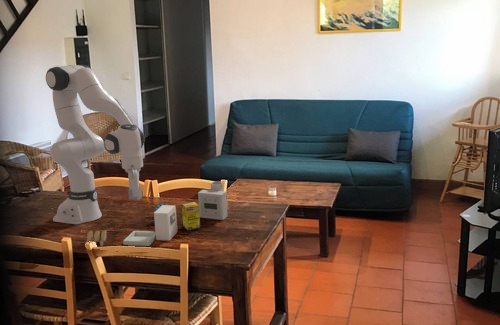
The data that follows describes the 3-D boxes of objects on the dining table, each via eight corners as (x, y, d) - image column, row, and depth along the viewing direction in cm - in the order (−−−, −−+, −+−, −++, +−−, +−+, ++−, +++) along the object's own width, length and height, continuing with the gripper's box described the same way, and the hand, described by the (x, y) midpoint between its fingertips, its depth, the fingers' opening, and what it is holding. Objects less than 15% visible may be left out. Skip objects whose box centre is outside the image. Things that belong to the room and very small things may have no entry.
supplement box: (188, 231, 228) (186, 207, 226) (183, 227, 234) (181, 203, 231) (200, 228, 231) (199, 205, 228) (195, 224, 236) (194, 201, 234)
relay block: (129, 199, 224) (128, 186, 222) (134, 196, 228) (132, 184, 226) (137, 200, 223) (136, 187, 221) (142, 197, 226) (141, 184, 225)
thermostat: (199, 217, 245) (197, 186, 241) (212, 207, 258) (211, 178, 254) (223, 220, 240) (221, 188, 237) (235, 210, 253) (234, 180, 249)
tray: (123, 245, 216) (123, 240, 215) (134, 235, 226) (133, 230, 226) (148, 246, 214) (148, 241, 213) (158, 236, 224) (158, 231, 224)
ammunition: (89, 229, 222) (84, 237, 214) (106, 229, 222) (102, 236, 214) (90, 240, 223) (85, 247, 215) (107, 239, 223) (103, 247, 216)
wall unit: (154, 239, 220) (152, 212, 217) (163, 231, 230) (161, 205, 227) (171, 240, 219) (169, 213, 216) (179, 231, 228) (177, 205, 225)
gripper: (139, 168, 212) (143, 200, 215) (140, 157, 231) (143, 187, 235) (124, 169, 211) (127, 202, 214) (125, 158, 230) (128, 188, 234)
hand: (135, 194), depth 225 cm, fingers closed on relay block, 5 cm apart
